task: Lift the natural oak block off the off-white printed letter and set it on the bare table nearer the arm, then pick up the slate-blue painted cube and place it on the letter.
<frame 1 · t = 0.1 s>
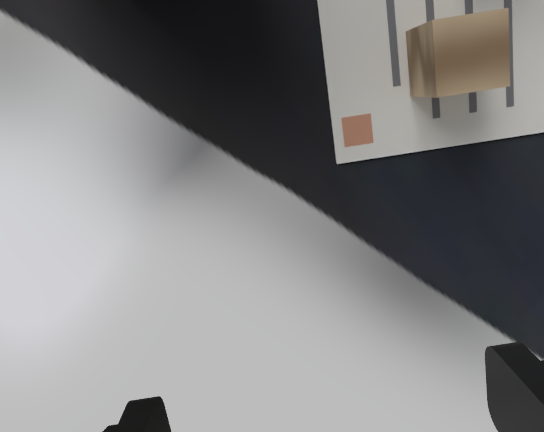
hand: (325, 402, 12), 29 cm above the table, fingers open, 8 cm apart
letter: (438, 59, 37), on the table
oak block: (439, 59, 37), resting on letter
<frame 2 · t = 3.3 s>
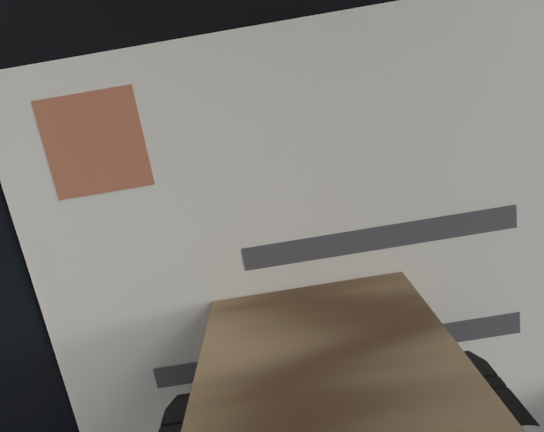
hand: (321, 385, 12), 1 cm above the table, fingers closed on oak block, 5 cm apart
letter: (319, 365, 13), on the table
oak block: (320, 370, 13), resting on letter, touching gripper
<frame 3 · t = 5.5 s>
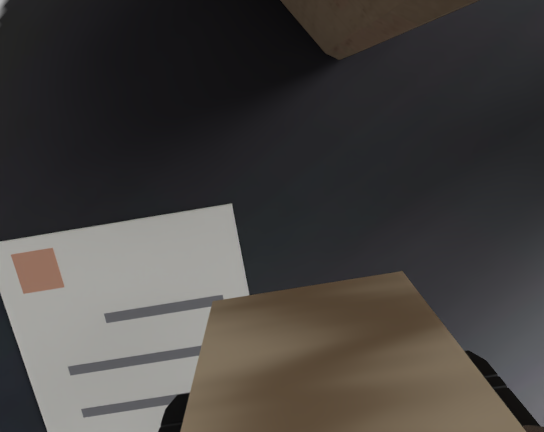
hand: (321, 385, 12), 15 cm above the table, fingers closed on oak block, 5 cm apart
letter: (145, 364, 28), on the table
oak block: (319, 369, 13), point 14 cm above the table, touching gripper
when the fingers open (2 cm above the table, at t = 8.1 s): oak block drops 2 cm, on the table.
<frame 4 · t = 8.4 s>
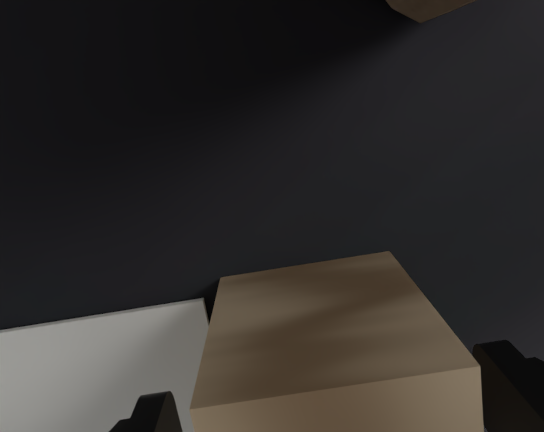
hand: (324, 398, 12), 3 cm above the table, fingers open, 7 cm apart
oak block: (315, 339, 14), on the table
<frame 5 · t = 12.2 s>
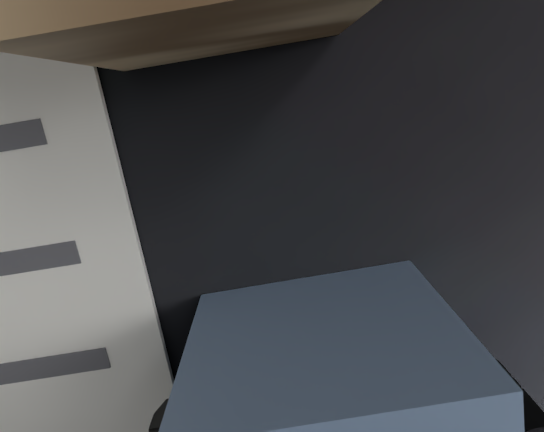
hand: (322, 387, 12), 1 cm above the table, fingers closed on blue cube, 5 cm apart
blue cube: (319, 369, 13), on the table, touching gripper
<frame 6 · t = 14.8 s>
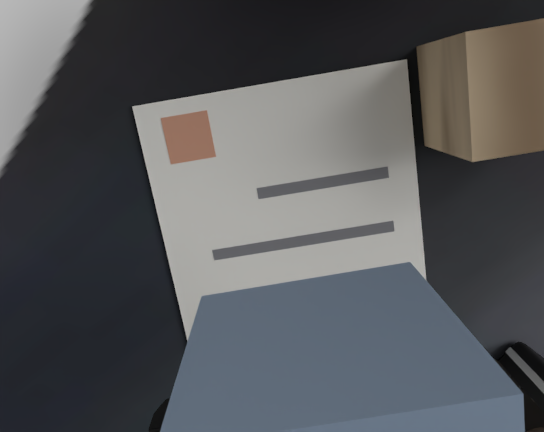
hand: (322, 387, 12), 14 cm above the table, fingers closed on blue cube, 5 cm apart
blue cube: (320, 370, 13), point 13 cm above the table, touching gripper
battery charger: (529, 385, 29), on the table
letter: (295, 249, 26), on the table
oak block: (468, 89, 24), on the table
when the fingers open (2 cm above the table, at t = 17.3 s): blue cube stays where it is, resting on letter.
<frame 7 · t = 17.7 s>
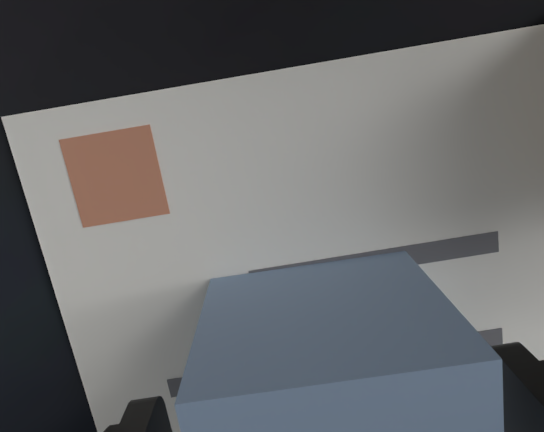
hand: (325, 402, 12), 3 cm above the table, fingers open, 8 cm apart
blue cube: (319, 351, 14), resting on letter
letter: (318, 375, 14), on the table
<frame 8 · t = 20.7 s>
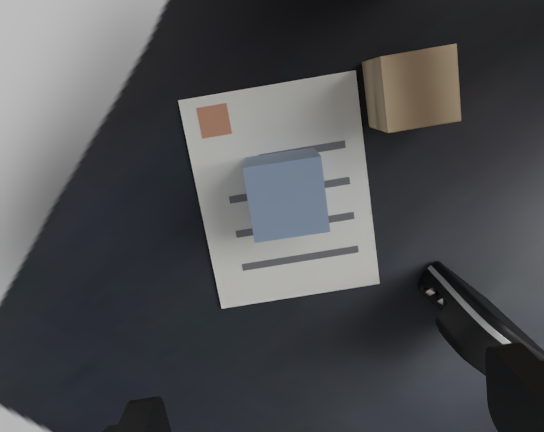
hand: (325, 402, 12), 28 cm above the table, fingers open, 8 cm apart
blue cube: (283, 185, 38), resting on letter
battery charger: (446, 294, 42), on the table
letter: (284, 196, 39), on the table
oak block: (396, 89, 37), on the table
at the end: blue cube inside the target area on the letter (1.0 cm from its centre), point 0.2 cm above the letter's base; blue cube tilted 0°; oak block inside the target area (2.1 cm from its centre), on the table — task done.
